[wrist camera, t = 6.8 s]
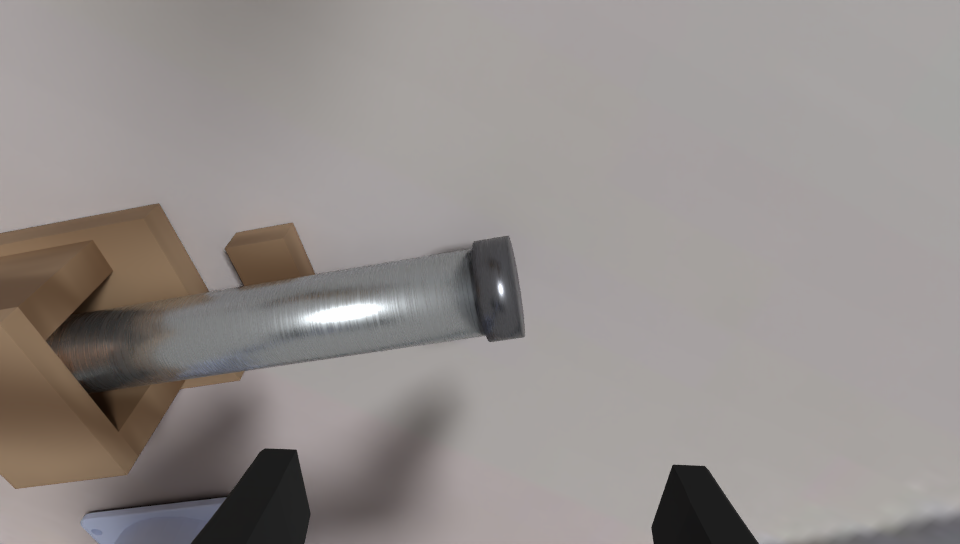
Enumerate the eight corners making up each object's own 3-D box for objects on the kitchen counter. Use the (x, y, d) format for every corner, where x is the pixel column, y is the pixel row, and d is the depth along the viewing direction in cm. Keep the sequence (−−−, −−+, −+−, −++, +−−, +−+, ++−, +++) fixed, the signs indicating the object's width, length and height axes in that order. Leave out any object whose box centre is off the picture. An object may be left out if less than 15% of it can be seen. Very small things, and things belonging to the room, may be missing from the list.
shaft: (522, 296, 19) (526, 358, 17) (62, 367, 21) (5, 431, 19) (506, 217, 18) (508, 273, 15) (9, 302, 20) (-61, 363, 17)
